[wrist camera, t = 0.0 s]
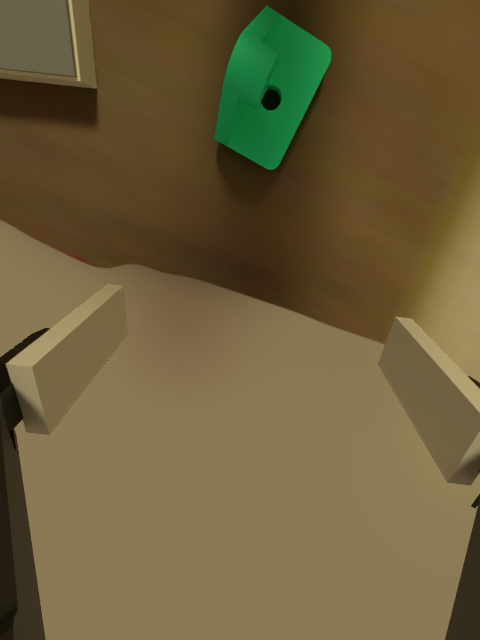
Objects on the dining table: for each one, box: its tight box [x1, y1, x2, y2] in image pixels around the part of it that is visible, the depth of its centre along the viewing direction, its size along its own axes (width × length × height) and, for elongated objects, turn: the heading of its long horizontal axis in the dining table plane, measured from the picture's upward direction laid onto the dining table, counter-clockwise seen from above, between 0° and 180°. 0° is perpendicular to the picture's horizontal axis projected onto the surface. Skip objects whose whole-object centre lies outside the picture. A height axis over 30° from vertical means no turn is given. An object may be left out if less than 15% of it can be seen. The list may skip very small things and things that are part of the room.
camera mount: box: [214, 6, 331, 170], centre depth 30 cm, size 12×8×10 cm, turn 154°
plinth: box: [0, 0, 97, 89], centre depth 30 cm, size 11×15×4 cm
